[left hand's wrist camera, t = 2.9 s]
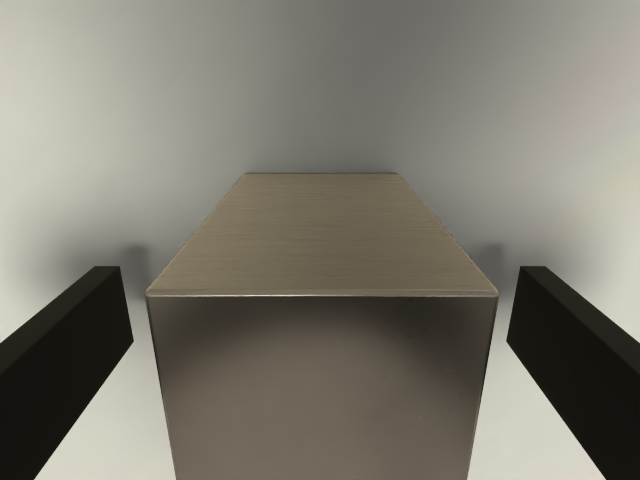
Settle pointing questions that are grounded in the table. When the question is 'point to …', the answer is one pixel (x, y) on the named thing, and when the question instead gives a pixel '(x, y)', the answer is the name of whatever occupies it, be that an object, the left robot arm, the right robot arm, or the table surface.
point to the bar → (321, 335)
